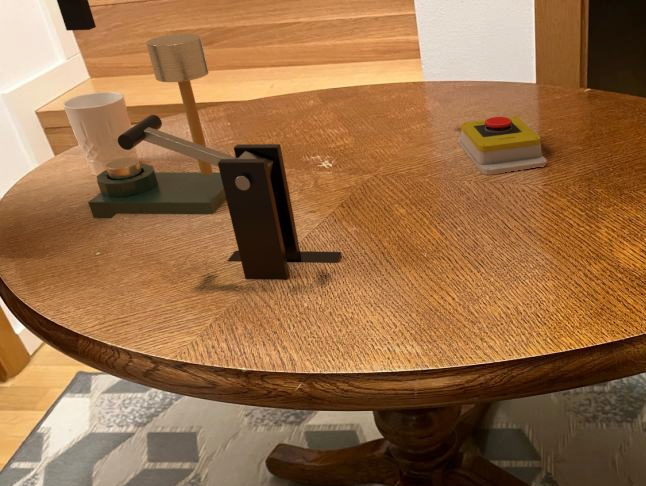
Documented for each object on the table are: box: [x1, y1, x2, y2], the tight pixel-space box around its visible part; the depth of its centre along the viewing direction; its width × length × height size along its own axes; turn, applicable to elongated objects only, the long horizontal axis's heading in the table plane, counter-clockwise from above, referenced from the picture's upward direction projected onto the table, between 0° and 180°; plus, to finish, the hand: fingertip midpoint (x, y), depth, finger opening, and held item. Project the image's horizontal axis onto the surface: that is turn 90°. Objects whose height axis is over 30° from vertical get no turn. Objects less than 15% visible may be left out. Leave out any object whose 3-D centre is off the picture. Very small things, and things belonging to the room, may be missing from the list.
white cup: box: [62, 91, 139, 177], centre depth 104 cm, size 8×8×10 cm
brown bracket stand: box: [217, 143, 343, 281], centre depth 73 cm, size 12×9×14 cm
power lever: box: [118, 114, 273, 176], centre depth 69 cm, size 13×6×2 cm, turn 83°
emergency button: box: [457, 115, 548, 176], centre depth 104 cm, size 9×4×15 cm
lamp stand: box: [145, 33, 213, 175], centre depth 88 cm, size 6×6×16 cm
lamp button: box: [106, 158, 142, 180], centre depth 94 cm, size 4×4×2 cm
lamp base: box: [87, 163, 227, 219], centre depth 94 cm, size 16×10×4 cm, turn 84°
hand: (81, 28), depth 82 cm, fingers closed
